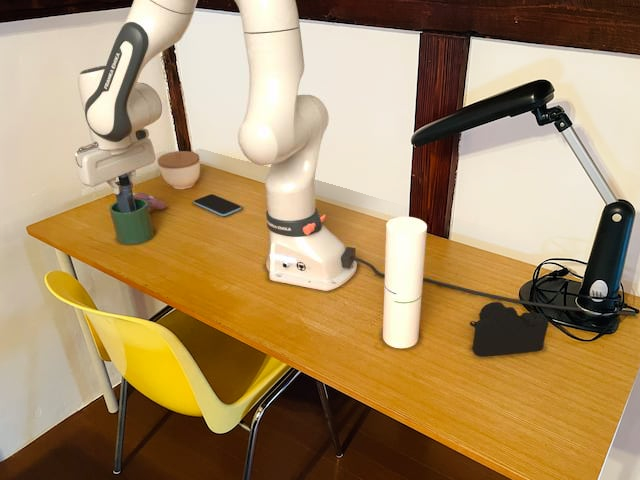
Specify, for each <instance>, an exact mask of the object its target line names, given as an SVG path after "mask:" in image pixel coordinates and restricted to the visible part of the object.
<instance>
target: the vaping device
mask: <svg viewBox="0 0 640 480" xmlns="http://www.w3.org/2000/svg"><path fill="white" fill-rule="evenodd" d="M117 178H118V181H117V180H116V182H115V183H116V184H117V185H119V186H122V190H123V192H122V193H120V194H118V195H117V194H115V193H114V195H115V198H116V202H117V203H118V207H119V210H120V211H121V212H122V213H125V212H132V211H136V205H135V201H134V197H133V193H134V192H133V188H132V189H131V186H130V182H129V177H128V173H127V174H124V175H122V176H119V177H117Z"/></svg>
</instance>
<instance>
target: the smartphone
mask: <svg viewBox="0 0 640 480" xmlns="http://www.w3.org/2000/svg"><path fill="white" fill-rule="evenodd" d="M193 204H194V205H196V206H198V207H201V208H203V209H205V210H207V211H210V212H212V213H214V214H216V215H217V216H220V217H227V216H229V215H232V214H234V213H236V212H238V211H241V210H242V209H243V206H241V205H240V204H237V203H235V202H233V201H230V200H228V199H225V198H223V197H220V196H219V195H215V194H212V193H211V194H207V195H205V196H202V197H200V198H197V199H194V200H193Z"/></svg>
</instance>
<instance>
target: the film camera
mask: <svg viewBox="0 0 640 480" xmlns="http://www.w3.org/2000/svg"><path fill="white" fill-rule="evenodd" d="M478 316H479V317H478V318H479V319H478V320H477V321H476V320H471V321H470V322H469V326H471V327H473V328H474V334H473V340H472V347H471V350H472V352H473V354H474V355H475V356H477V357H479V358H482V357H483V358H486V357H496V356H497V357H498V356H506V355H507V356H509V355H517V354H527V353H535V352H540V351H542V350H543V349H544V343H545V340H546V335H547V331H548V328H549V323H550V321H549V319H548V317H546V316H545V314H544V313H541V312H538V313H536V312H535V310H533V309H531V310H530V311H529V312H528V311H527V312H522V313H521V315H520V314H518V311H517V310H516V309H515V308H514V307H512V306H505V305H504V304H503V303H502V302H499V301H492V302H490V303H487V304H485V305H484V306H482V308H480V311H479V313H478Z"/></svg>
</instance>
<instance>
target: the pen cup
mask: <svg viewBox="0 0 640 480" xmlns="http://www.w3.org/2000/svg"><path fill="white" fill-rule="evenodd" d="M134 201H135V205H136V211H132V212H125V213H122V212H121V211H120V210H119V207H118V203H117V201H115V202H113V203H112V204H111V205H110V206H109V209H108V210H109V214H110V218H111V222H112V225H113V229H114V232H115V235H116V239H117V241H118V243H120V244H123V245H129V246H131V245H139V244H142V243H146V242H148V241H150V240H151V239H152V238H153V237H154V236H155V229H154V225H153V221H152V216H151V211H149V207H148V203H147V201H146V200H143V199H138V198H134Z"/></svg>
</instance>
